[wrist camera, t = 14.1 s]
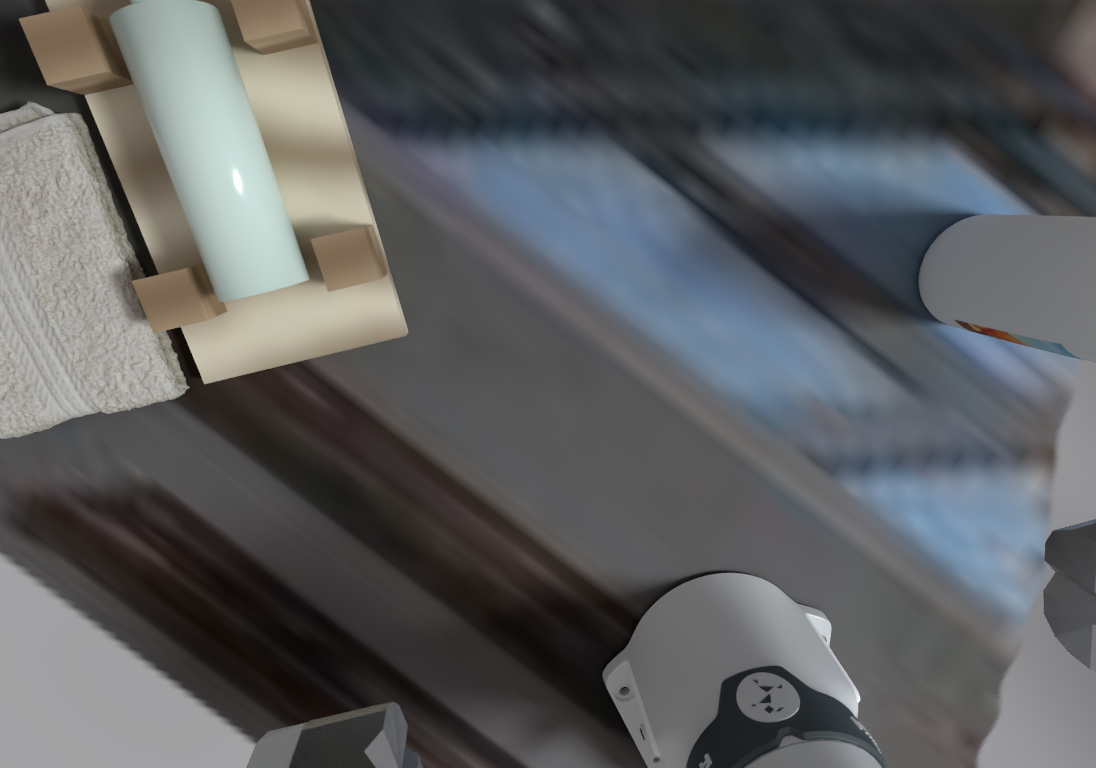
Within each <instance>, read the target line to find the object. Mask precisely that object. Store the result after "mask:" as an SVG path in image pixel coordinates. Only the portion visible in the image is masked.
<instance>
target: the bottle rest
mask: <svg viewBox="0 0 1096 768" xmlns="http://www.w3.org/2000/svg"><path fill="white" fill-rule="evenodd" d="M45 1H46V4H47V6H48V8H49V11H50V12H47V13H42V14H38V15H33V16H29V17H24V18H19V21H20V23H21V26H22V28H23V30H24V33H25V35H26V37H27V40H28V42H29V44H30V47H31V49H32V51H33V54H34V56H35V58H36V60H37V63H38V65H39V67H40V70H41V72H42V74H43V77H44V79H45V81H46V84H47V85H48V86H52V87H56V88H59V89H63V90H67V91H71V92H74V93H78V94H82V95H85V98H86V100H87V102H88V105H89V107H90V110H91V112H92V114H93V117H94V119H95V122H96V124H97V126H98V129H99V131H100V134H101V136H102V138H103V141H104V143H105V146H106V148H107V151H108V153H109V155H110V158H111V160H112V163H113V165H114V167H115V170H116V172H117V175H118V177H119V179H120V182H121V184H122V187H123V189H124V192H125V194H126V196H127V199H128V201H129V204H130V206H131V208H132V211H133V213H134V216H135V218H136V220H137V223H138V225H139V228H140V230H141V232H142V235H143V237H144V240H145V242H146V245H147V247H148V249H149V252H150V254H151V257H152V259H153V261H154V264H155V266H156V269H157V271H158V273H159V275H155V276H151V277H147V278H143V279H138V280H134V281H132V284H133V286H134V288H135V291H136V293H137V295H138V298H139V300H140V302H141V305H142V307H143V309H144V312H145V314H146V316H147V319H148V321H149V323H150V326H151V328H152V330H153V333H157V332H161V331H165V330H170V329H174V328H178V327H181V329H182V331H183V334H184V336H185V339H186V341H187V343H188V346H189V348H190V351H191V353H192V355H193V358H194V360H195V363H196V365H197V367H198V370H199V372H200V375H201V377H202V380H203V382H204V384H207V383H211V382H215V381H219V380H223V379H228V378H232V377H236V376H240V375H244V374H248V373H253V372H257V371H261V370H265V369H269V368H273V367H278V366H282V365H286V364H290V363H294V362H298V361H303V360H307V359H311V358H315V357H319V356H324V355H328V354H332V353H336V352H340V351H344V350H349V349H353V348H357V347H361V346H365V345H369V344H374V343H378V342H382V341H386V340H390V339H394V338H399V337H403V336H406V335H407V333H408V329H407V326H406V322H405V319H404V316H403V312H402V309H401V306H400V302H399V299H398V295H397V292H396V289H395V285H394V282H393V279H392V275H391V272H390V269H389V265H388V262H387V259H386V255H385V252H384V249H383V245H382V242H381V239H380V235H379V232H378V229H377V225H376V222H375V219H374V215H373V212H372V209H371V205H370V202H369V198H368V195H367V192H366V188H365V185H364V182H363V178H362V175H361V172H360V168H359V165H358V162H357V158H356V155H355V152H354V148H353V145H352V142H351V138H350V135H349V132H348V128H347V125H346V122H345V118H344V115H343V112H342V108H341V105H340V101H339V98H338V95H337V91H336V88H335V85H334V81H333V78H332V75H331V71H330V68H329V65H328V61H327V58H326V55H325V51H324V48H323V45H322V41H321V38H320V35H319V31H318V28H317V25H316V21H315V18H314V14H313V11H312V8H311V4H310V1H309V0H196V1H201V2H205V3H208V4H211V5H213V6H215V7H216V8H217V9H218V10H219V11H220V14H221V17H222V20H223V23H224V26H225V29H226V32H227V35H228V38H229V41H230V44H231V47H232V50H233V53H234V56H235V59H236V62H237V65H238V68H239V71H240V74H241V77H242V79H243V82H244V85H245V88H246V91H247V94H248V97H249V100H250V103H251V106H252V109H253V112H254V115H255V118H256V121H257V124H258V127H259V130H260V133H261V136H262V139H263V142H264V145H265V147H266V150H267V153H268V156H269V159H270V162H271V165H272V168H273V171H274V174H275V177H276V180H277V183H278V186H279V189H280V192H281V195H282V198H283V201H284V204H285V207H286V210H287V213H288V215H289V218H290V221H291V224H292V227H293V230H294V233H295V236H296V239H297V242H298V245H299V248H300V251H301V254H302V257H303V260H304V263H305V266H306V269H307V272H308V275H309V278H310V279H309V280H307V281H304V282H301V283H298V284H294V285H291V286H288V287H284V288H280V289H277V290H273V291H269V292H265V293H261V294H257V295H253V296H249V297H244V298H240V299H235V300H230V301H225V302H218V300H217V297H216V295H215V292H214V290H213V287H212V284H211V282H210V279H209V277H208V274H207V272H206V269H205V266H204V264H203V261H202V259H201V256H200V254H199V251H198V248H197V246H196V243H195V241H194V238H193V236H192V233H191V230H190V228H189V225H188V223H187V220H186V218H185V215H184V212H183V210H182V207H181V205H180V202H179V199H178V197H177V194H176V192H175V189H174V187H173V184H172V181H171V179H170V176H169V174H168V171H167V169H166V166H165V163H164V161H163V158H162V156H161V153H160V151H159V148H158V145H157V143H156V140H155V138H154V135H153V133H152V130H151V127H150V125H149V122H148V120H147V117H146V115H145V112H144V109H143V107H142V104H141V102H140V99H139V97H138V94H137V91H136V89H135V86H134V84H133V81H132V79H131V76H130V73H129V71H128V68H127V66H126V63H125V60H124V58H123V55H122V53H121V50H120V48H119V45H118V42H117V40H116V37H115V35H114V32H113V30H112V27H111V24H110V21H109V18H110V16H111V15H112V14H113V13H114V12H116V11H117V10H119V9H121V8H123V7H126V6H128V5H132V4H131V2H130V0H45Z"/></svg>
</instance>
